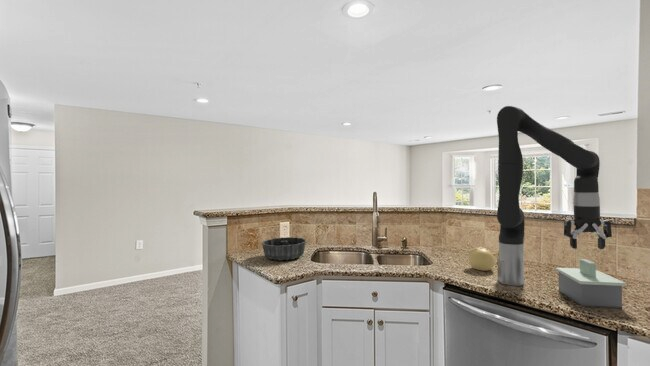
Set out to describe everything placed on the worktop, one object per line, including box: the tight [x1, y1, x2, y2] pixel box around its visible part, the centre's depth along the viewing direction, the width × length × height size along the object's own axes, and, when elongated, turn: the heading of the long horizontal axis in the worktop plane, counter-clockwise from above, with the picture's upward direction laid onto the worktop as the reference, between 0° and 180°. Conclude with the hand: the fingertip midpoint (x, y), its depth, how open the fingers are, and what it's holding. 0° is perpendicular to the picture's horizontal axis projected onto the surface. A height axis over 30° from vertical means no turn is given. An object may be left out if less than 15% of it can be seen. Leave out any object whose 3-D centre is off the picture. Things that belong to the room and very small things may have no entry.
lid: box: [555, 258, 627, 287], centre depth 119 cm, size 13×17×7 cm
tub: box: [558, 272, 623, 309], centre depth 119 cm, size 12×16×8 cm
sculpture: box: [467, 246, 496, 272], centre depth 160 cm, size 12×12×11 cm
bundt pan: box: [261, 236, 307, 261], centre depth 192 cm, size 26×26×10 cm
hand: (587, 248), depth 118 cm, fingers open, 8 cm apart
